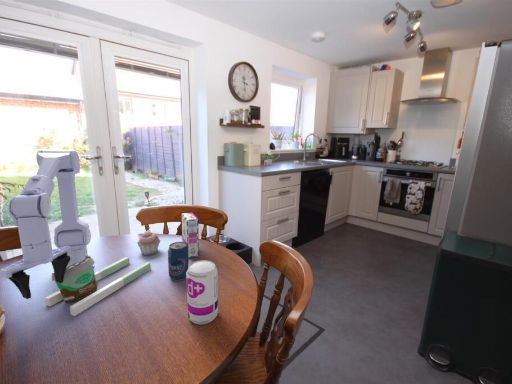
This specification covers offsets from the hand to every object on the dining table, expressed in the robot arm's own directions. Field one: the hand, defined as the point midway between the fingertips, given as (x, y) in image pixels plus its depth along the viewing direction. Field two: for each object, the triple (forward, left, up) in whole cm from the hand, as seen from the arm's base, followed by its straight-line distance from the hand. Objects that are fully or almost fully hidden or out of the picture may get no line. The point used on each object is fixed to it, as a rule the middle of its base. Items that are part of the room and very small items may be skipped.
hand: (44, 289), depth 67 cm
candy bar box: (+11, +49, -9) cm, 51 cm away
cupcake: (-5, +42, -9) cm, 43 cm away
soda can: (+19, +31, -9) cm, 37 cm away
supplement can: (+38, +17, -9) cm, 42 cm away
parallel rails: (0, +17, -8) cm, 19 cm away
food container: (0, +11, -8) cm, 14 cm away
